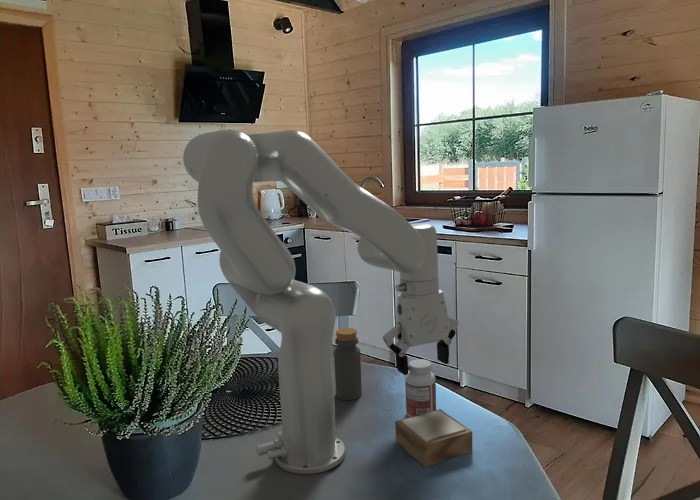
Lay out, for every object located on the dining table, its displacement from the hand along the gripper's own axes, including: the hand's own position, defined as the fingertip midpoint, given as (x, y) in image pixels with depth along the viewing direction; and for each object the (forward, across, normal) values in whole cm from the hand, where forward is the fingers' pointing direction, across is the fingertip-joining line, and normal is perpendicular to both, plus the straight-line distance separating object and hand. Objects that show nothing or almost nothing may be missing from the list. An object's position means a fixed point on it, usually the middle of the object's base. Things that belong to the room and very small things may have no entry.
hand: (423, 367), depth 113 cm
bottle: (+10, -10, +16) cm, 21 cm away
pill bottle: (+10, -1, 0) cm, 10 cm away
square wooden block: (+10, -6, -12) cm, 17 cm away
